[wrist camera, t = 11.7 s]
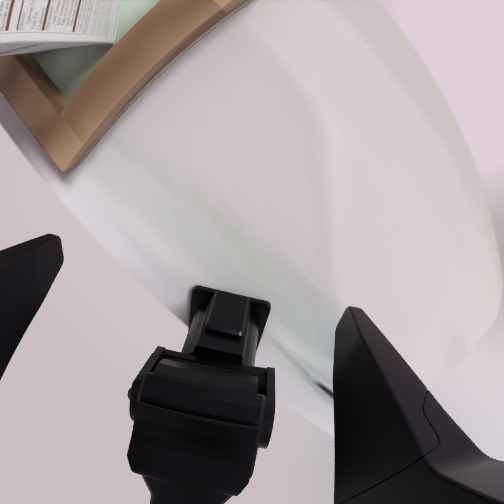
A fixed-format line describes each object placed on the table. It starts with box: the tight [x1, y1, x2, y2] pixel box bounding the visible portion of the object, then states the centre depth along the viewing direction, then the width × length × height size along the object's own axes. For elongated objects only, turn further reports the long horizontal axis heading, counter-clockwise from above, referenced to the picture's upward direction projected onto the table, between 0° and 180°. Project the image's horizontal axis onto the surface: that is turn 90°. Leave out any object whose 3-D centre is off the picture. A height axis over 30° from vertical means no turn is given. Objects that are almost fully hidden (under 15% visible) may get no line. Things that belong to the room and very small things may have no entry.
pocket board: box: [0, 0, 253, 173], centre depth 13 cm, size 18×18×2 cm
